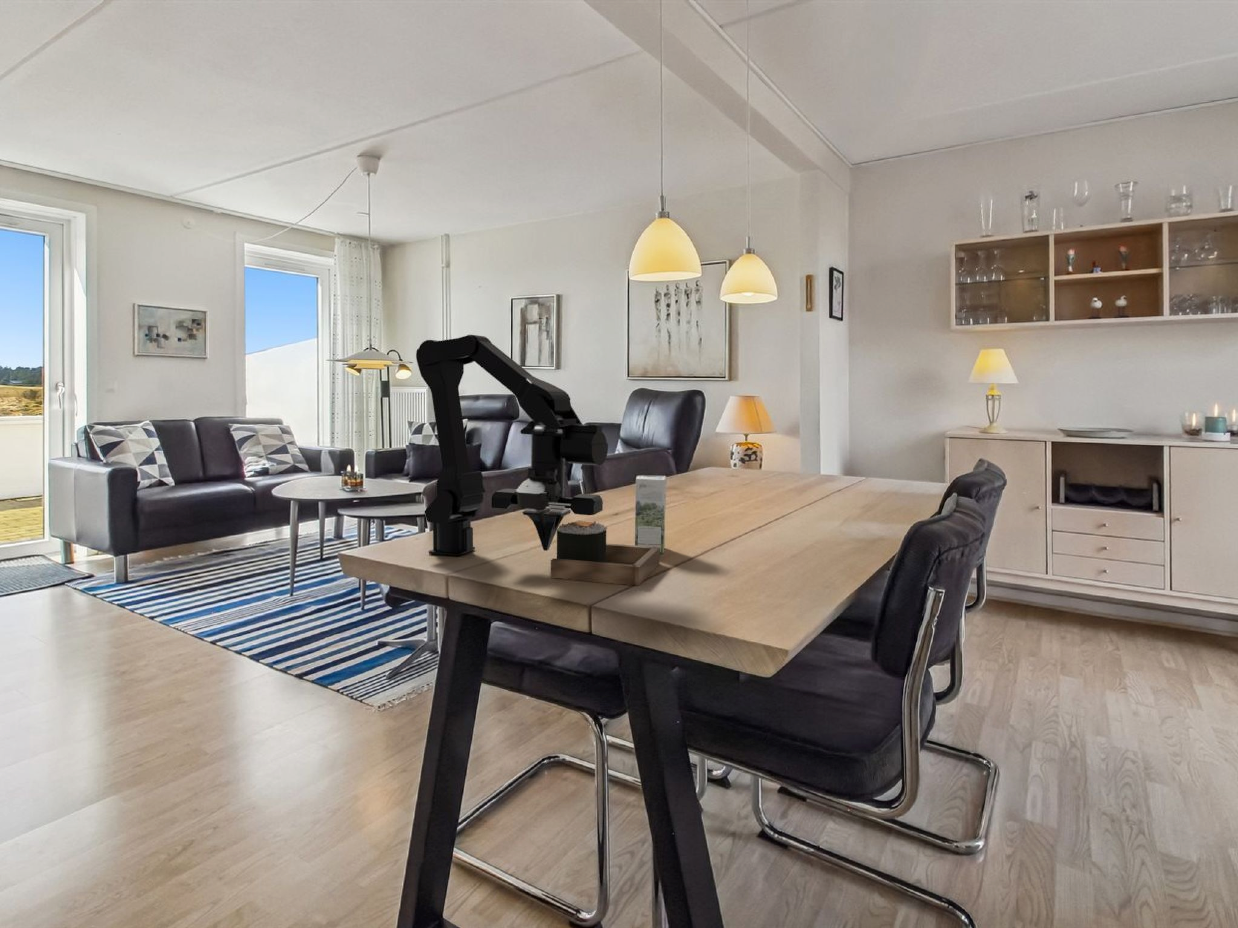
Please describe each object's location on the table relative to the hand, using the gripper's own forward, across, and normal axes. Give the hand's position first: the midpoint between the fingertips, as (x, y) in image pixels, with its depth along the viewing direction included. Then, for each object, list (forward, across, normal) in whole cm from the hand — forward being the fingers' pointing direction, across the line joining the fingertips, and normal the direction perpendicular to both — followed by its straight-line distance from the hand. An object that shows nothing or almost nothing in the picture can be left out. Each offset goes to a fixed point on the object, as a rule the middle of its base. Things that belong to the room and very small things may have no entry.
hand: (546, 550), depth 123 cm
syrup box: (+3, +14, +18) cm, 23 cm away
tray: (+2, +12, 0) cm, 12 cm away
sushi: (+3, +7, 0) cm, 7 cm away
